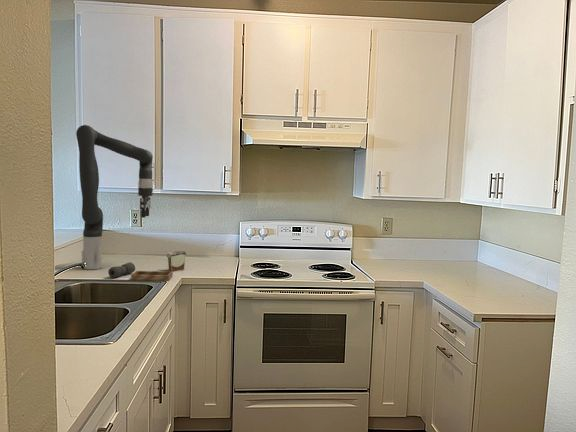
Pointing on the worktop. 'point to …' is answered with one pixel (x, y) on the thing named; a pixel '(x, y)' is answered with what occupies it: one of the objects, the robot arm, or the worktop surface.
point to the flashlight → (122, 269)
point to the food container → (176, 260)
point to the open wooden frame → (152, 275)
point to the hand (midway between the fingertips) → (145, 216)
